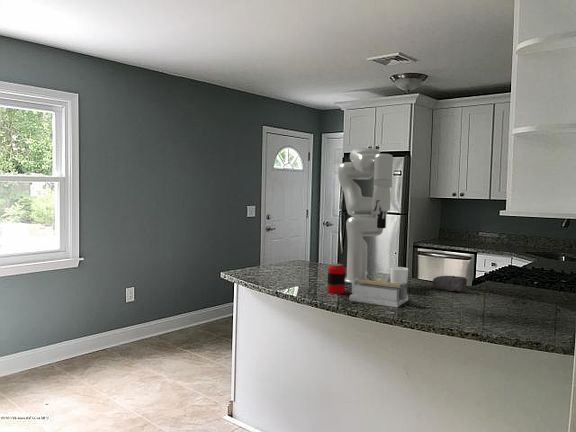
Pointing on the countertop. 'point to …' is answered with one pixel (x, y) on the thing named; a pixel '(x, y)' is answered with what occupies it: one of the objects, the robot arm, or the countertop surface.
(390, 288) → the heatsink
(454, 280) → the perforated stone tool
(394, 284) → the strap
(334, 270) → the soda can
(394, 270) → the white cup
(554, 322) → the countertop surface
